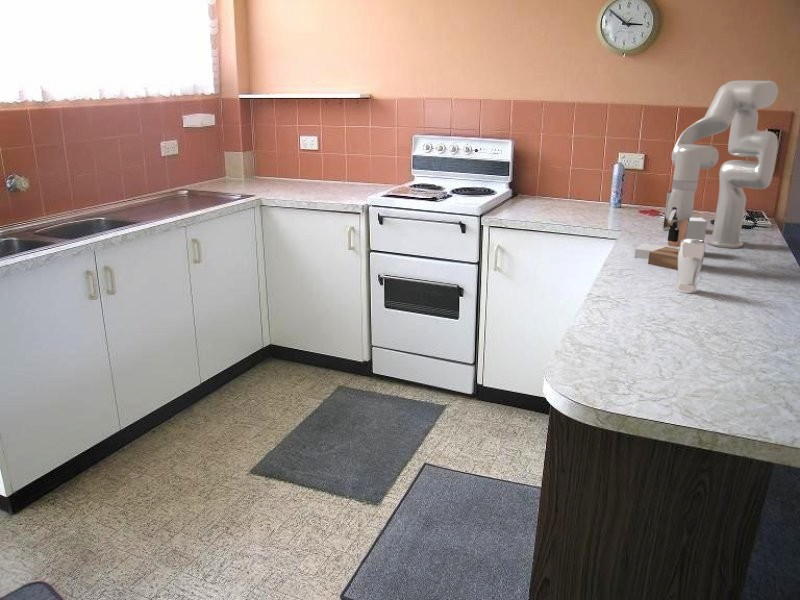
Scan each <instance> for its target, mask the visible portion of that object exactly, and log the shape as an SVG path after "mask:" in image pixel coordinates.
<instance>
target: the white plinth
mask: <svg viewBox="0 0 800 600" xmlns="http://www.w3.org/2000/svg"><path fill="white" fill-rule="evenodd" d="M664 247H668V245H667V246H666V245H658V244H650V243H640V244H639V245H638V246H637V247H635V249H634V258H636V259H637V258H638V259H646V260H649V252H652V251H655V250H658V249H661V248H664ZM669 247H670V248H672V246H669Z"/></svg>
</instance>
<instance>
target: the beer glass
mask: <svg viewBox="0 0 800 600" xmlns="http://www.w3.org/2000/svg"><path fill="white" fill-rule="evenodd" d="M705 250H706V241H705V240H704V241H703V240H699V239H690V238H686V239H681V243H680V247H679V252H678V270H677V281H676V284H675V286H674V290H675V291H677V292H678V291H679V293H682V292H683V294H695V292H696V293H697V291H698V286H697V285H698V283H697V282H698V277H699V274H700V272H701V268H702V267H703V262H704V258H705Z"/></svg>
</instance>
